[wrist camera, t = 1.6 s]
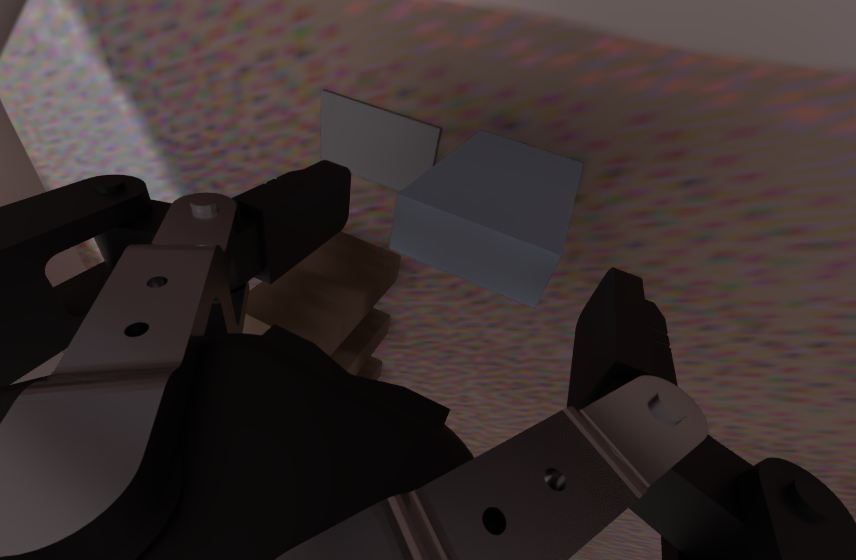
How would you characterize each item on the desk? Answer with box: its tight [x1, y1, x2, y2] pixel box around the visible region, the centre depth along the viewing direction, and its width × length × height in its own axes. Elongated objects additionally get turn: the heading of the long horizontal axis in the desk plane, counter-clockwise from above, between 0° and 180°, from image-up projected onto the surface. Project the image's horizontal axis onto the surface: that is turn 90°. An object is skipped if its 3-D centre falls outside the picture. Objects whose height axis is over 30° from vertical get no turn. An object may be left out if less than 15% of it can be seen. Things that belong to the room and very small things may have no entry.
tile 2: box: [243, 232, 400, 356], centre depth 22 cm, size 5×2×9 cm, turn 78°
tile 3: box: [330, 308, 390, 376], centre depth 25 cm, size 5×2×9 cm, turn 78°
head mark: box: [321, 90, 441, 191], centre depth 20 cm, size 7×4×1 cm, turn 78°
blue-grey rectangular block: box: [389, 130, 583, 309], centre depth 14 cm, size 5×2×9 cm, turn 78°
